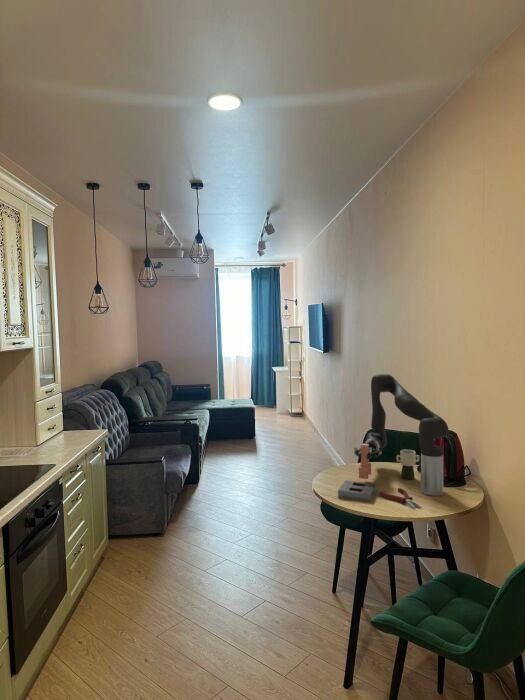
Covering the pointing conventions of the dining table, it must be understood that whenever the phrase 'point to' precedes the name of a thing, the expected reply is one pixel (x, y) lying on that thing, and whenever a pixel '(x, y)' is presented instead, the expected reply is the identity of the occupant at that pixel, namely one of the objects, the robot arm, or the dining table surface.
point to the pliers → (401, 498)
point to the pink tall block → (364, 462)
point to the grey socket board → (357, 490)
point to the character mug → (407, 462)
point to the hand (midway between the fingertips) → (363, 456)
